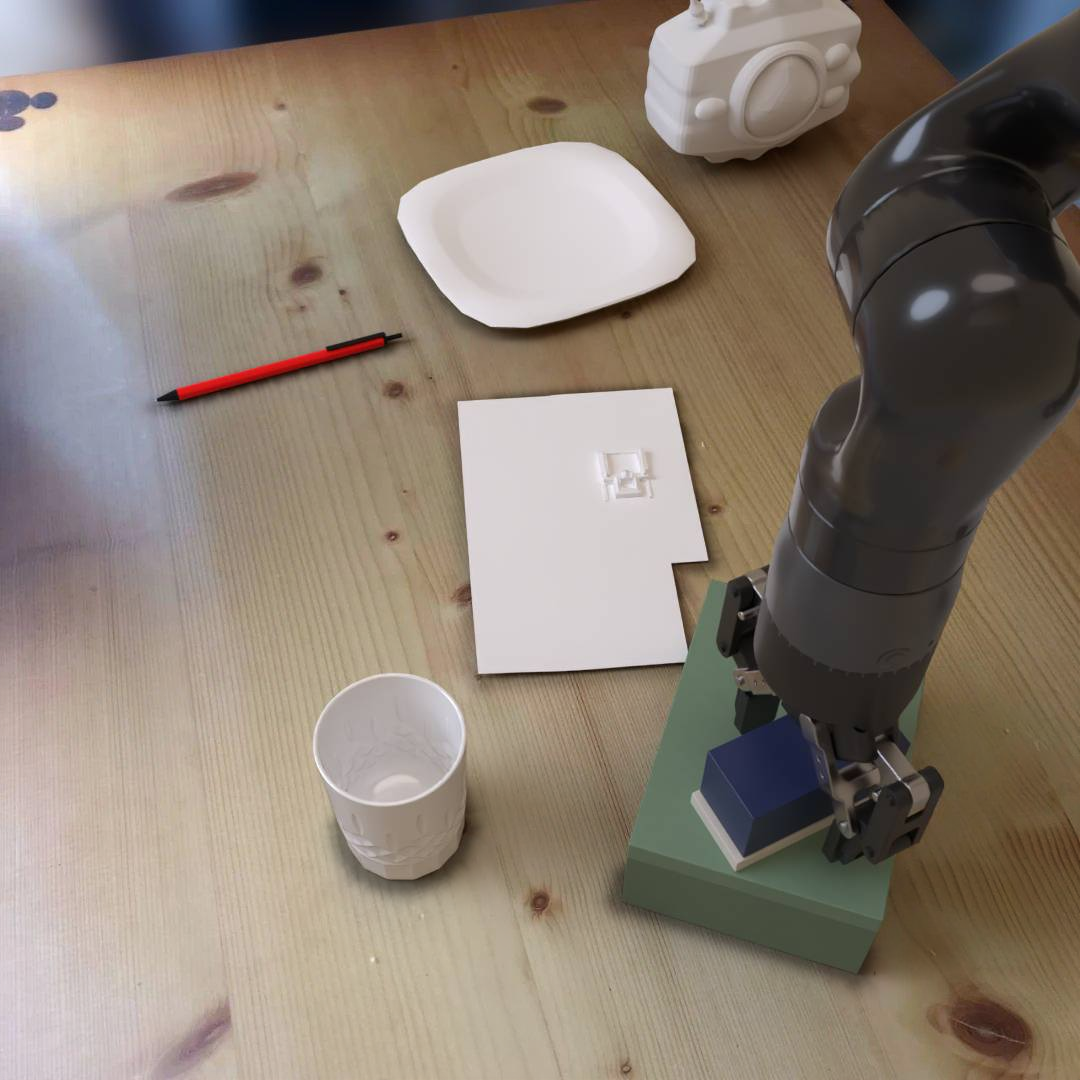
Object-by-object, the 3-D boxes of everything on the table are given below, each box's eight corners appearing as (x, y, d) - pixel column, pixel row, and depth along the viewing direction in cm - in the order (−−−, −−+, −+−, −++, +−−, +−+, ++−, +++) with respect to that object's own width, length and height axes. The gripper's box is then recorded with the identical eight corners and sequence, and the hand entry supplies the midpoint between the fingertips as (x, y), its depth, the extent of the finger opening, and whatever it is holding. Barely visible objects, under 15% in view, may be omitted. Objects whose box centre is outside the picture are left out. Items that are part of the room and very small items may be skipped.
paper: (441, 404, 96) (440, 394, 95) (669, 381, 97) (670, 371, 97) (479, 688, 80) (479, 679, 79) (750, 656, 82) (752, 646, 81)
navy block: (848, 727, 71) (866, 675, 67) (897, 792, 68) (919, 742, 64) (689, 802, 68) (699, 752, 64) (735, 872, 65) (747, 825, 61)
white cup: (364, 914, 71) (343, 830, 64) (317, 796, 76) (292, 705, 68) (496, 857, 73) (491, 768, 66) (442, 746, 78) (431, 651, 70)
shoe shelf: (906, 700, 80) (932, 634, 75) (857, 974, 69) (883, 921, 64) (699, 645, 83) (710, 578, 77) (621, 901, 72) (628, 844, 66)
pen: (403, 342, 100) (402, 331, 99) (157, 409, 96) (153, 398, 95) (400, 335, 101) (399, 324, 100) (154, 401, 96) (151, 390, 95)
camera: (627, 141, 117) (638, -31, 105) (800, 96, 122) (829, -74, 110) (685, 210, 111) (702, 35, 99) (864, 159, 116) (903, -13, 103)
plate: (724, 281, 105) (727, 264, 104) (479, 362, 99) (478, 345, 98) (599, 141, 117) (600, 124, 116) (374, 205, 111) (372, 188, 110)
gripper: (1040, 690, 51) (941, 870, 64) (832, 453, 60) (780, 655, 72) (885, 765, 49) (814, 936, 62) (691, 508, 57) (663, 706, 70)
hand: (796, 784), depth 67 cm, fingers open, 7 cm apart
